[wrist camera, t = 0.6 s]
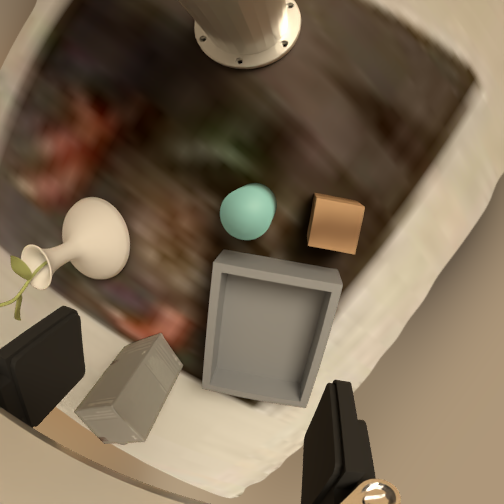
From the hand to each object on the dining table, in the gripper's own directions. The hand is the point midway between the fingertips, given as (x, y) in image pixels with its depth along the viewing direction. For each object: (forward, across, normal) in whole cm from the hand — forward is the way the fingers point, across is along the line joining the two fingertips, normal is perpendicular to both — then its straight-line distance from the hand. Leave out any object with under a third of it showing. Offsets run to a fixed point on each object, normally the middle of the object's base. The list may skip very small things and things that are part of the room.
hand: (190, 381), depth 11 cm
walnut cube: (+29, -7, -3) cm, 30 cm away
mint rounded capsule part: (+29, +2, -2) cm, 29 cm away
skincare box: (+29, +13, +23) cm, 40 cm away
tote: (+29, -3, +12) cm, 32 cm away
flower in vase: (+29, +23, +6) cm, 37 cm away
